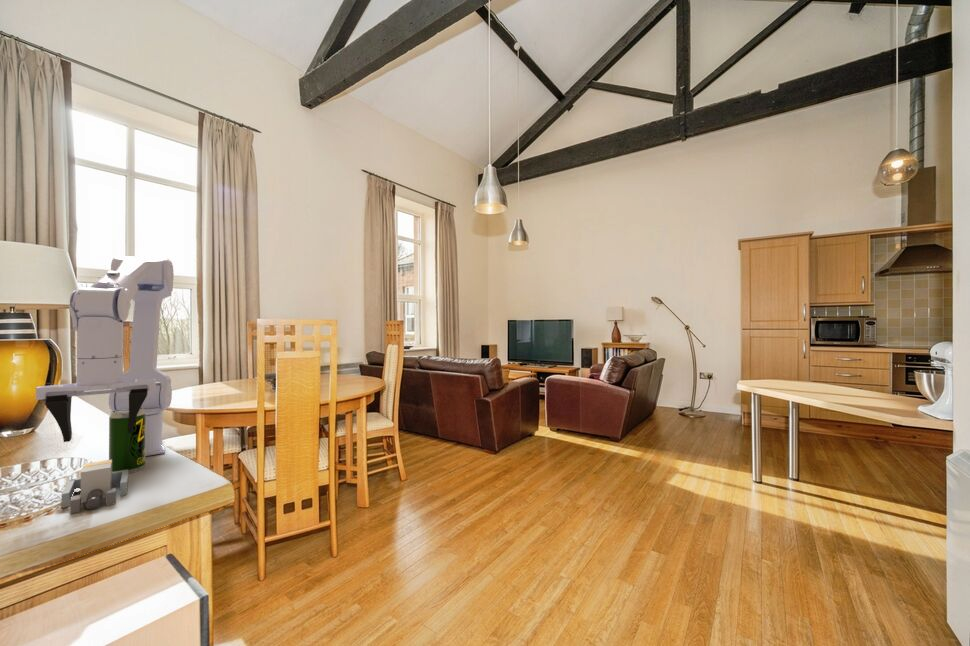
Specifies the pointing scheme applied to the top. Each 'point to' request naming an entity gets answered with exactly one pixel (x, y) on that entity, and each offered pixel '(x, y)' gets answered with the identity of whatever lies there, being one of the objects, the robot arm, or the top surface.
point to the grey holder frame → (117, 478)
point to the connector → (95, 482)
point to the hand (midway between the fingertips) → (100, 436)
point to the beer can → (127, 441)
